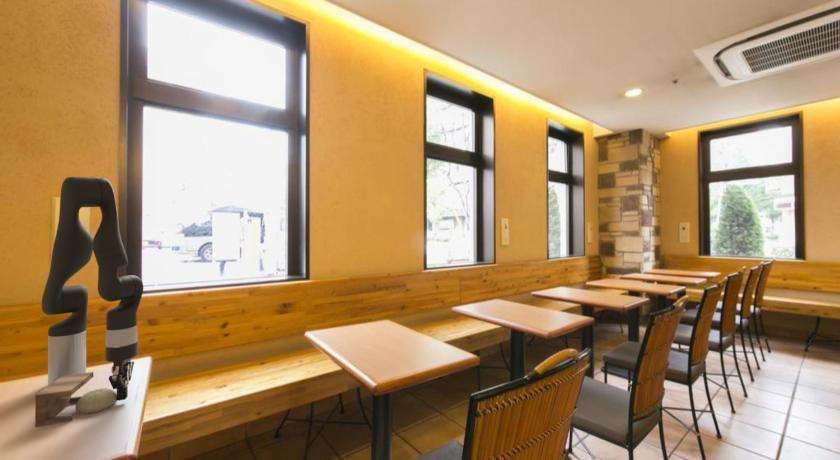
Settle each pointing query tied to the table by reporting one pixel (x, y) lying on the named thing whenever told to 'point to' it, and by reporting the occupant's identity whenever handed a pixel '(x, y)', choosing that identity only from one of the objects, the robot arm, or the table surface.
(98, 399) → the sea urchin shell
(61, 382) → the shelf
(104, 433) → the table surface
